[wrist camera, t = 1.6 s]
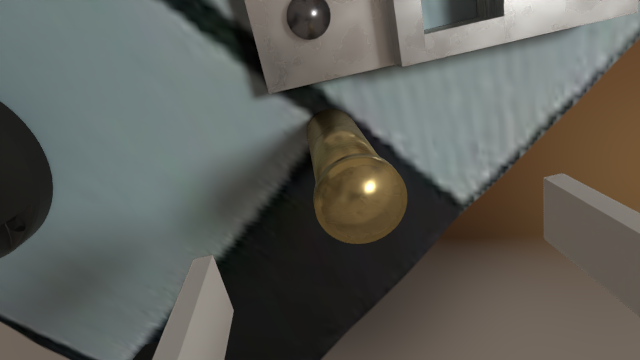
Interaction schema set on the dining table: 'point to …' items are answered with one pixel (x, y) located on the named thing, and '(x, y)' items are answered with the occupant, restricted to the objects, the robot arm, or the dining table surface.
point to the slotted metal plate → (396, 33)
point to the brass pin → (352, 181)
